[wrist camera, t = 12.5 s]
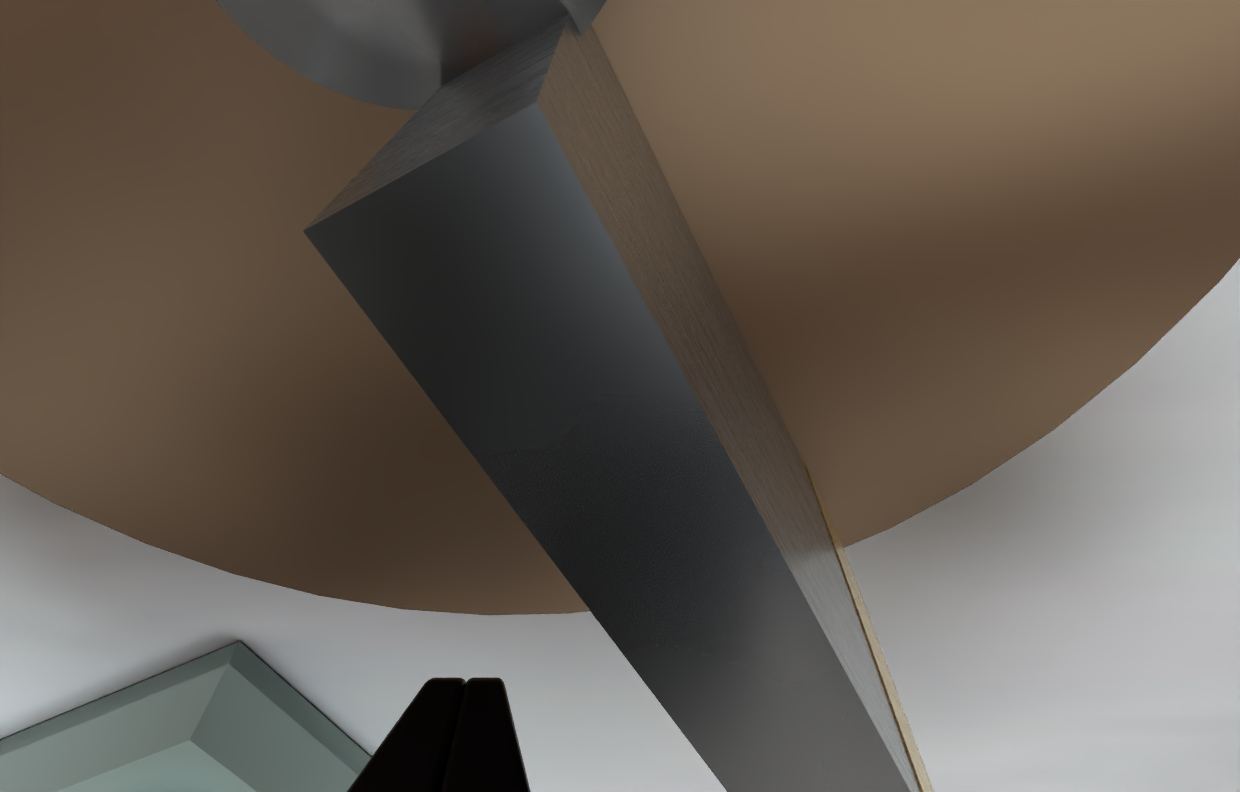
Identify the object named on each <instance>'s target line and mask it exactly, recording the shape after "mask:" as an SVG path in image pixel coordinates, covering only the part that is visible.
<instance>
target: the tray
mask: <svg viewBox="0 0 1240 792" xmlns="http://www.w3.org/2000/svg"><path fill="white" fill-rule="evenodd" d="M370 759H371V757H370V756H369V755H367V754H366V753H365V752H364V751H363V750H362V749H361V748H360V747H358V746H357V745H356V744H355V743H354V742H353V741H352V740H350V739H349V738H348V737H347V736H346V735H345V734H344V733H343V732H341V731H340V730H339V729H338V728H337V727H336V726H335V725H334V724H332V723H331V722H330V721H329V720H328V719H327V718H326V717H325V716H323V715H322V714H321V713H320V712H319V711H318V710H317V709H315V708H314V707H313V706H312V705H311V704H310V703H309V702H308V701H306V700H305V699H304V698H303V697H302V696H301V695H300V694H299V693H297V692H296V691H295V690H294V689H293V688H292V687H291V686H290V685H288V684H287V683H286V682H285V681H284V680H283V679H282V678H280V677H279V676H278V675H277V674H276V673H275V672H274V671H273V670H271V669H270V668H269V667H268V666H267V665H266V664H265V663H264V662H262V661H261V660H260V659H259V658H258V657H257V656H256V655H255V654H253V653H252V652H251V651H250V650H249V649H248V648H247V647H245V646H244V645H243V644H242V643H241V642H240V641H239V642H236V643H234V644H232V645H229V646H227V647H224V648H222V649H220V650H217V651H215V652H212V653H210V654H207V655H205V656H203V657H200V658H198V659H195V660H193V661H191V662H188V663H186V664H183V665H181V666H178V667H176V668H174V669H171V670H169V671H166V672H164V673H162V674H159V675H157V676H154V677H152V678H149V679H147V680H145V681H142V682H140V683H137V684H135V685H133V686H130V687H128V688H125V689H123V690H120V691H118V692H116V693H113V694H111V695H108V696H106V697H103V698H101V699H99V700H96V701H94V702H91V703H89V704H87V705H84V706H82V707H79V708H77V709H74V710H72V711H70V712H67V713H65V714H62V715H60V716H58V717H55V718H53V719H50V720H48V721H45V722H43V723H41V724H38V725H36V726H33V727H31V728H29V729H26V730H24V731H21V732H19V733H16V734H14V735H12V736H9V737H7V738H4V739H2V740H0V792H347V790H348V789H349V788H350V786H351V785H352V784H353V782H354V781H355V779H356V778H357V777H358V775H359V774H360V773H361V771H362V770H363V768H364V767H365V766H366V764H367V763H368V761H369V760H370Z"/></svg>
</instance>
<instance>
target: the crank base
mask: <svg viewBox="0 0 1240 792" xmlns="http://www.w3.org/2000/svg"><path fill="white" fill-rule="evenodd" d="M592 26H593V28H594V30H595V33H596V35H597V37H598V39H599V41H600V43H601V45H602V47H603V49H604V51H605V53H606V55H607V57H608V59H609V62H610V64H611V66H612V68H613V70H614V72H615V74H616V76H617V78H618V80H619V82H620V84H621V86H622V88H623V91H624V93H625V95H626V97H627V99H628V101H629V103H630V105H631V107H632V109H633V111H634V113H635V115H636V117H637V120H638V122H639V124H640V126H641V128H642V130H643V132H644V134H645V136H646V138H647V140H648V142H649V144H650V146H651V148H652V151H653V153H654V155H655V157H656V159H657V161H658V163H659V165H660V167H661V169H662V171H663V173H664V175H665V177H666V180H667V182H668V184H669V186H670V188H671V190H672V192H673V194H674V196H675V198H676V200H677V202H678V204H679V206H680V209H681V211H682V213H683V215H684V217H685V219H686V221H687V223H688V225H689V227H690V229H691V231H692V233H693V235H694V238H695V240H696V242H697V244H698V246H699V248H700V250H701V252H702V254H703V256H704V258H705V260H706V262H707V264H708V267H709V269H710V271H711V273H712V275H713V277H714V279H715V281H716V283H717V285H718V287H719V289H720V291H721V293H722V296H723V298H724V300H725V302H726V304H727V306H728V308H729V310H730V312H731V314H732V316H733V318H734V320H735V322H736V325H737V327H738V329H739V331H740V333H741V335H742V337H743V339H744V341H745V343H746V345H747V347H748V349H749V351H750V354H751V356H752V358H753V360H754V362H755V364H756V366H757V368H758V370H759V372H760V374H761V376H762V378H763V380H764V383H765V385H766V387H767V389H768V391H769V393H770V395H771V397H772V399H773V401H774V403H775V405H776V407H777V409H778V411H779V414H780V416H781V418H782V420H783V422H784V424H785V426H786V428H787V430H788V432H789V434H790V436H791V438H792V440H793V443H794V445H795V447H796V449H797V451H798V453H799V455H800V457H801V459H802V461H803V463H804V464H806V466H807V468H808V470H809V472H810V474H811V476H812V478H813V480H814V482H815V484H816V487H817V489H818V491H819V493H820V495H821V497H822V499H823V501H824V503H825V505H826V507H827V509H828V511H829V514H830V516H831V518H832V520H833V522H834V524H835V527H836V529H837V532H838V535H839V537H840V540H841V543H842V545H843V548H844V547H846V546H849V545H851V544H854V543H856V542H858V541H861V540H863V539H866V538H868V537H870V536H873V535H875V534H877V533H880V532H882V531H885V530H887V529H889V528H891V527H893V526H895V525H897V524H899V523H901V522H903V521H904V520H906V519H908V518H910V517H912V516H914V515H916V514H917V513H919V512H921V511H923V510H925V509H927V508H929V507H930V506H932V505H934V504H936V503H938V502H940V501H942V500H944V499H945V498H947V497H949V496H951V495H953V494H955V493H957V492H958V491H960V490H962V489H964V488H966V487H968V486H970V485H971V484H973V483H974V482H976V481H977V480H979V479H980V478H982V477H983V476H985V475H986V474H988V473H989V472H991V471H992V470H994V469H995V468H997V467H998V466H1000V465H1001V464H1003V463H1005V462H1006V461H1008V460H1009V459H1011V458H1012V457H1014V456H1015V455H1017V454H1018V453H1020V452H1021V451H1023V450H1024V449H1026V448H1027V447H1029V446H1030V445H1032V444H1033V443H1035V442H1036V441H1038V440H1039V439H1041V438H1042V437H1044V436H1045V435H1047V434H1048V433H1050V432H1051V431H1053V430H1054V429H1055V428H1056V427H1058V426H1059V425H1060V424H1061V423H1063V422H1064V421H1065V420H1066V419H1068V418H1069V417H1070V416H1071V415H1072V414H1074V413H1075V412H1076V411H1077V410H1079V409H1080V408H1081V407H1082V406H1084V405H1085V404H1086V403H1087V402H1089V401H1090V400H1091V399H1092V398H1093V397H1095V396H1096V395H1097V394H1098V393H1100V392H1101V391H1102V390H1103V389H1105V388H1106V387H1107V386H1108V385H1110V384H1111V383H1112V382H1113V381H1114V380H1116V379H1117V378H1118V377H1119V376H1121V375H1122V374H1123V373H1124V372H1126V371H1127V370H1128V369H1129V368H1131V367H1132V366H1133V365H1134V364H1135V363H1137V362H1138V361H1139V360H1140V359H1141V358H1142V357H1143V356H1144V355H1145V354H1146V353H1147V352H1148V351H1149V350H1150V349H1151V348H1152V347H1153V346H1154V345H1155V344H1156V343H1157V342H1158V341H1159V340H1160V339H1161V338H1162V337H1163V336H1164V335H1165V334H1166V333H1167V332H1168V331H1169V330H1170V329H1171V328H1172V327H1173V326H1174V325H1176V324H1177V323H1178V322H1179V321H1180V320H1181V319H1182V318H1183V317H1184V316H1185V315H1186V314H1187V313H1188V312H1189V311H1190V310H1191V309H1192V308H1193V307H1194V306H1195V305H1196V304H1197V303H1198V302H1199V301H1200V300H1201V299H1202V298H1203V297H1204V296H1205V295H1206V294H1207V293H1208V292H1209V291H1210V290H1211V289H1212V288H1213V287H1214V286H1216V285H1217V284H1218V283H1219V281H1220V280H1221V279H1222V278H1223V277H1224V276H1225V274H1226V273H1227V272H1228V271H1229V270H1230V269H1231V267H1232V266H1233V265H1234V264H1235V263H1236V262H1237V260H1238V259H1239V258H1240V0H607V1H606V3H605V4H604V6H603V7H602V9H601V10H600V12H599V13H598V15H597V16H596V18H595V19H594V21H593V22H592ZM416 112H417V111H413V110H405V109H396V108H388V107H382V106H378V105H374V104H370V103H366V102H362V101H358V100H355V99H353V98H350V97H347V96H345V95H342V94H340V93H337V92H334V91H332V90H329V89H327V88H325V87H323V86H321V85H319V84H317V83H315V82H314V81H312V80H310V79H308V78H306V77H304V76H302V75H300V74H299V73H297V72H296V71H294V70H293V69H291V68H290V67H288V66H287V65H285V64H284V63H282V62H281V61H279V60H278V59H276V58H275V57H274V56H272V55H271V54H270V53H268V52H267V51H266V50H265V49H264V48H263V47H261V46H260V45H259V44H258V43H257V42H255V41H254V40H253V39H252V38H251V37H250V36H248V35H247V34H246V33H245V32H244V31H243V30H242V29H241V28H240V27H239V26H238V25H237V24H236V23H235V22H234V21H233V20H232V19H231V17H230V16H229V15H228V14H227V13H226V12H225V11H224V10H223V9H222V8H221V7H220V6H219V5H218V3H217V2H216V1H215V0H0V474H2V475H4V476H5V477H7V478H9V479H11V480H13V481H15V482H16V483H18V484H20V485H22V486H24V487H26V488H27V489H29V490H31V491H33V492H35V493H37V494H38V495H40V496H42V497H44V498H46V499H48V500H50V501H51V502H53V503H55V504H58V505H60V506H62V507H64V508H67V509H69V510H71V511H73V512H76V513H78V514H80V515H82V516H85V517H87V518H89V519H91V520H94V521H96V522H98V523H100V524H103V525H105V526H107V527H110V528H112V529H114V530H116V531H119V532H121V533H123V534H125V535H128V536H130V537H132V538H134V539H137V540H139V541H141V542H143V543H146V544H149V545H152V546H155V547H157V548H160V549H163V550H166V551H169V552H172V553H175V554H178V555H181V556H183V557H186V558H189V559H192V560H195V561H198V562H201V563H204V564H206V565H209V566H212V567H215V568H218V569H221V570H224V571H227V572H230V573H232V574H236V575H240V576H244V577H248V578H252V579H256V580H260V581H264V582H268V583H272V584H276V585H280V586H283V587H287V588H291V589H295V590H299V591H303V592H307V593H311V594H315V595H319V596H325V597H331V598H337V599H344V600H350V601H356V602H362V603H368V604H375V605H381V606H387V607H393V608H399V609H408V610H422V611H436V612H450V613H464V614H478V615H512V614H561V613H575V612H584V611H590V610H589V608H588V607H587V606H586V604H585V603H584V602H583V600H582V599H581V598H580V596H579V595H578V594H577V592H576V591H575V590H574V588H573V587H572V586H571V585H570V583H569V582H568V581H567V579H566V578H565V577H564V575H563V574H562V573H561V571H560V570H559V569H558V567H557V566H556V565H555V563H554V562H553V561H552V559H551V558H550V557H549V555H548V554H547V553H546V552H545V550H544V549H543V548H542V546H541V545H540V544H539V542H538V541H537V540H536V538H535V537H534V536H533V534H532V533H531V532H530V530H529V529H528V528H527V526H526V525H525V524H524V522H523V521H522V520H521V518H520V517H519V516H518V515H517V513H516V512H515V511H514V509H513V508H512V507H511V505H510V504H509V503H508V501H507V500H506V499H505V497H504V496H503V495H502V493H501V492H500V491H499V489H498V488H497V487H496V485H495V484H494V483H493V482H492V480H491V479H490V478H489V476H488V475H487V474H486V472H485V471H484V470H483V468H482V467H481V466H480V464H479V463H478V462H477V460H476V459H475V458H474V456H473V455H472V454H471V452H470V451H469V450H468V449H467V447H466V446H465V445H464V443H463V442H462V441H461V439H460V438H459V437H458V435H457V434H456V433H455V431H454V430H453V429H452V427H451V426H450V425H449V423H448V422H447V421H446V419H445V418H444V417H443V416H442V414H441V413H440V412H439V410H438V409H437V408H436V406H435V405H434V404H433V402H432V401H431V400H430V398H429V397H428V396H427V394H426V393H425V392H424V390H423V389H422V388H421V386H420V385H419V384H418V382H417V381H416V380H415V379H414V377H413V376H412V375H411V373H410V372H409V371H408V369H407V368H406V367H405V365H404V364H403V363H402V361H401V360H400V359H399V357H398V356H397V355H396V353H395V352H394V351H393V349H392V348H391V347H390V346H389V344H388V343H387V342H386V340H385V339H384V338H383V336H382V335H381V334H380V332H379V331H378V330H377V328H376V327H375V326H374V324H373V323H372V322H371V320H370V319H369V318H368V316H367V315H366V314H365V313H364V311H363V310H362V309H361V307H360V306H359V305H358V303H357V302H356V301H355V299H354V298H353V297H352V295H351V294H350V293H349V291H348V290H347V289H346V287H345V286H344V285H343V283H342V282H341V281H340V279H339V278H338V277H337V276H336V274H335V273H334V272H333V270H332V269H331V268H330V266H329V265H328V264H327V262H326V261H325V260H324V258H323V257H322V256H321V254H320V253H319V252H318V250H317V249H316V248H315V246H314V245H313V244H312V243H311V241H310V240H309V239H308V237H307V236H306V235H305V233H304V232H303V230H304V229H305V228H306V227H307V226H308V225H309V224H310V223H311V222H312V221H313V220H314V219H315V218H316V217H317V216H318V215H319V214H320V213H321V211H322V210H323V209H324V208H325V207H326V206H327V205H328V204H329V203H330V202H331V201H332V200H333V199H334V198H335V197H336V196H337V195H338V194H339V193H340V192H341V191H342V189H343V188H344V187H345V186H346V185H347V184H348V183H349V182H350V181H351V180H352V179H353V178H354V177H355V176H356V175H357V174H358V173H359V172H360V171H361V170H362V168H363V167H364V166H365V165H366V164H367V163H368V162H369V161H370V160H371V159H372V158H373V157H374V156H375V155H376V154H377V153H378V152H379V151H380V150H381V149H382V147H383V146H384V145H385V144H386V143H387V142H388V141H389V140H390V139H391V138H392V137H393V136H394V135H395V134H396V133H397V132H398V131H399V130H400V129H401V128H402V126H403V125H404V124H405V123H406V122H407V121H408V120H409V119H410V118H411V117H412V116H413V115H414V114H415V113H416Z"/></svg>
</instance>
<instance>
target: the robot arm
mask: <svg viewBox="0 0 1240 792" xmlns="http://www.w3.org/2000/svg"><path fill="white" fill-rule="evenodd" d="M347 792H530V787H529V783H528V779H527V775H526V771H525V767H524V763H523V759H522V755H521V750H520V746H519V742H518V738H517V734H516V730H515V726H514V722H513V717H512V713H511V709H510V705H509V701H508V697H507V693H506V689H505V685H504V682H503V681H502V679H500V678H471V679H469V680H468V681H467V682H465V680H464V679H462V678H432V679H430V680H428V681H427V682H426V683H425V684H424V686H423V687H422V688H421V690H420V691H419V692H418V694H417V695H416V696H415V698H414V699H413V701H412V702H411V703H410V705H409V706H408V708H407V709H406V710H405V712H404V713H403V714H402V716H401V717H400V719H399V720H398V721H397V723H396V724H395V726H394V727H393V728H392V730H391V731H390V732H389V734H388V735H387V737H386V738H385V739H384V741H383V742H382V743H381V745H380V746H379V748H378V749H377V750H376V752H375V753H374V755H373V756H372V757H371V759H370V760H369V761H368V763H367V764H366V766H365V767H364V768H363V770H362V771H361V773H360V774H359V775H358V777H357V778H356V779H355V781H354V782H353V784H352V785H351V786H350V788H349V789H348V790H347Z"/></svg>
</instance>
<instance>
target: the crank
mask: <svg viewBox="0 0 1240 792" xmlns="http://www.w3.org/2000/svg"><path fill="white" fill-rule="evenodd" d="M215 1H216V2H217V3H218V5H219V6H220V7H221V8H222V9H223V10H224V11H225V12H226V13H227V14H228V15H229V16H230V17H231V19H232V20H233V21H234V22H235V23H236V24H237V25H238V26H239V27H240V28H241V29H242V30H243V31H244V32H245V33H246V34H247V35H248V36H250V37H251V38H252V39H253V40H254V41H255V42H257V43H258V44H259V45H260V46H261V47H263V48H264V49H265V50H266V51H267V52H268V53H270V54H271V55H272V56H274V57H275V58H276V59H278V60H279V61H281V62H282V63H284V64H285V65H287V66H288V67H290V68H291V69H293V70H294V71H296V72H297V73H299V74H300V75H302V76H304V77H306V78H308V79H310V80H312V81H314V82H315V83H317V84H319V85H321V86H323V87H325V88H327V89H329V90H332V91H334V92H337V93H340V94H342V95H345V96H347V97H350V98H353V99H355V100H358V101H362V102H366V103H370V104H374V105H378V106H382V107H388V108H396V109H405V110H413V111H417V112H416V113H415V114H414V115H413V116H412V117H411V118H410V119H409V120H408V121H407V122H406V123H405V124H404V125H403V126H402V128H401V129H400V130H399V131H398V132H397V133H396V134H395V135H394V136H393V137H392V138H391V139H390V140H389V141H388V142H387V143H386V144H385V145H384V146H383V147H382V149H381V150H380V151H379V152H378V153H377V154H376V155H375V156H374V157H373V158H372V159H371V160H370V161H369V162H368V163H367V164H366V165H365V166H364V167H363V168H362V170H361V171H360V172H359V173H358V174H357V175H356V176H355V177H354V178H353V179H352V180H351V181H350V182H349V183H348V184H347V185H346V186H345V187H344V188H343V189H342V191H341V192H340V193H339V194H338V195H337V196H336V197H335V198H334V199H333V200H332V201H331V202H330V203H329V204H328V205H327V206H326V207H325V208H324V209H323V210H322V211H321V213H320V214H319V215H318V216H317V217H316V218H315V219H314V220H313V221H312V222H311V223H310V224H309V225H308V226H307V227H306V228H305V229H304V230H303V232H304V233H305V235H306V236H307V237H308V239H309V240H310V241H311V243H312V244H313V245H314V246H315V248H316V249H317V250H318V252H319V253H320V254H321V256H322V257H323V258H324V260H325V261H326V262H327V264H328V265H329V266H330V268H331V269H332V270H333V272H334V273H335V274H336V276H337V277H338V278H339V279H340V281H341V282H342V283H343V285H344V286H345V287H346V289H347V290H348V291H349V293H350V294H351V295H352V297H353V298H354V299H355V301H356V302H357V303H358V305H359V306H360V307H361V309H362V310H363V311H364V313H365V314H366V315H367V316H368V318H369V319H370V320H371V322H372V323H373V324H374V326H375V327H376V328H377V330H378V331H379V332H380V334H381V335H382V336H383V338H384V339H385V340H386V342H387V343H388V344H389V346H390V347H391V348H392V349H393V351H394V352H395V353H396V355H397V356H398V357H399V359H400V360H401V361H402V363H403V364H404V365H405V367H406V368H407V369H408V371H409V372H410V373H411V375H412V376H413V377H414V379H415V380H416V381H417V382H418V384H419V385H420V386H421V388H422V389H423V390H424V392H425V393H426V394H427V396H428V397H429V398H430V400H431V401H432V402H433V404H434V405H435V406H436V408H437V409H438V410H439V412H440V413H441V414H442V416H443V417H444V418H445V419H446V421H447V422H448V423H449V425H450V426H451V427H452V429H453V430H454V431H455V433H456V434H457V435H458V437H459V438H460V439H461V441H462V442H463V443H464V445H465V446H466V447H467V449H468V450H469V451H470V452H471V454H472V455H473V456H474V458H475V459H476V460H477V462H478V463H479V464H480V466H481V467H482V468H483V470H484V471H485V472H486V474H487V475H488V476H489V478H490V479H491V480H492V482H493V483H494V484H495V485H496V487H497V488H498V489H499V491H500V492H501V493H502V495H503V496H504V497H505V499H506V500H507V501H508V503H509V504H510V505H511V507H512V508H513V509H514V511H515V512H516V513H517V515H518V516H519V517H520V518H521V520H522V521H523V522H524V524H525V525H526V526H527V528H528V529H529V530H530V532H531V533H532V534H533V536H534V537H535V538H536V540H537V541H538V542H539V544H540V545H541V546H542V548H543V549H544V550H545V552H546V553H547V554H548V555H549V557H550V558H551V559H552V561H553V562H554V563H555V565H556V566H557V567H558V569H559V570H560V571H561V573H562V574H563V575H564V577H565V578H566V579H567V581H568V582H569V583H570V585H571V586H572V587H573V588H574V590H575V591H576V592H577V594H578V595H579V596H580V598H581V599H582V600H583V602H584V603H585V604H586V606H587V607H588V608H589V610H590V611H591V612H592V614H593V615H594V616H595V618H596V619H597V620H598V621H599V623H600V624H601V625H602V627H603V628H604V629H605V631H606V632H607V633H608V635H609V636H610V637H611V639H612V640H613V641H614V643H615V644H616V645H617V647H618V648H619V649H620V651H621V652H622V653H623V654H624V656H625V657H626V658H627V660H628V661H629V662H630V664H631V665H632V666H633V668H634V669H635V670H636V672H637V673H638V674H639V676H640V677H641V678H642V680H643V681H644V682H645V684H646V685H647V686H648V688H649V689H650V690H651V691H652V693H653V694H654V695H655V697H656V698H657V699H658V701H659V702H660V703H661V705H662V706H663V707H664V709H665V710H666V711H667V713H668V714H669V715H670V717H671V718H672V719H673V721H674V722H675V723H676V724H677V726H678V727H679V728H680V730H681V731H682V732H683V734H684V735H685V736H686V738H687V739H688V740H689V742H690V743H691V744H692V746H693V747H694V748H695V750H696V751H697V752H698V754H699V755H700V756H701V757H702V759H703V760H704V761H705V763H706V764H707V765H708V767H709V768H710V769H711V771H712V772H713V773H714V775H715V776H716V777H717V779H718V780H719V781H720V783H721V784H722V785H723V787H724V788H725V789H726V791H727V792H934V791H933V788H932V785H931V783H930V780H929V777H928V775H927V772H926V769H925V767H924V764H923V761H922V758H921V756H920V753H919V750H918V748H917V745H916V742H915V740H914V737H913V734H912V731H911V729H910V726H909V723H908V721H907V718H906V715H905V713H904V710H903V707H902V704H901V702H900V699H899V696H898V694H897V691H896V688H895V686H894V683H893V680H892V678H891V675H890V672H889V669H888V667H887V664H886V661H885V659H884V656H883V653H882V651H881V648H880V645H879V642H878V640H877V637H876V634H875V632H874V629H873V626H872V624H871V621H870V618H869V615H868V613H867V610H866V607H865V605H864V602H863V599H862V597H861V594H860V591H859V589H858V586H857V583H856V580H855V578H854V575H853V572H852V570H851V567H850V564H849V562H848V559H847V556H846V553H845V551H844V548H843V545H842V543H841V540H840V537H839V535H838V532H837V529H836V527H835V524H834V522H833V520H832V518H831V516H830V514H829V511H828V509H827V507H826V505H825V503H824V501H823V499H822V497H821V495H820V493H819V491H818V489H817V487H816V484H815V482H814V480H813V478H812V476H811V474H810V472H809V470H808V468H807V466H806V464H804V463H803V461H802V459H801V457H800V455H799V453H798V451H797V449H796V447H795V445H794V443H793V440H792V438H791V436H790V434H789V432H788V430H787V428H786V426H785V424H784V422H783V420H782V418H781V416H780V414H779V411H778V409H777V407H776V405H775V403H774V401H773V399H772V397H771V395H770V393H769V391H768V389H767V387H766V385H765V383H764V380H763V378H762V376H761V374H760V372H759V370H758V368H757V366H756V364H755V362H754V360H753V358H752V356H751V354H750V351H749V349H748V347H747V345H746V343H745V341H744V339H743V337H742V335H741V333H740V331H739V329H738V327H737V325H736V322H735V320H734V318H733V316H732V314H731V312H730V310H729V308H728V306H727V304H726V302H725V300H724V298H723V296H722V293H721V291H720V289H719V287H718V285H717V283H716V281H715V279H714V277H713V275H712V273H711V271H710V269H709V267H708V264H707V262H706V260H705V258H704V256H703V254H702V252H701V250H700V248H699V246H698V244H697V242H696V240H695V238H694V235H693V233H692V231H691V229H690V227H689V225H688V223H687V221H686V219H685V217H684V215H683V213H682V211H681V209H680V206H679V204H678V202H677V200H676V198H675V196H674V194H673V192H672V190H671V188H670V186H669V184H668V182H667V180H666V177H665V175H664V173H663V171H662V169H661V167H660V165H659V163H658V161H657V159H656V157H655V155H654V153H653V151H652V148H651V146H650V144H649V142H648V140H647V138H646V136H645V134H644V132H643V130H642V128H641V126H640V124H639V122H638V120H637V117H636V115H635V113H634V111H633V109H632V107H631V105H630V103H629V101H628V99H627V97H626V95H625V93H624V91H623V88H622V86H621V84H620V82H619V80H618V78H617V76H616V74H615V72H614V70H613V68H612V66H611V64H610V62H609V59H608V57H607V55H606V53H605V51H604V49H603V47H602V45H601V43H600V41H599V39H598V37H597V35H596V33H595V30H594V28H593V26H592V22H593V21H594V19H595V18H596V16H597V15H598V13H599V12H600V10H601V9H602V7H603V6H604V4H605V3H606V1H607V0H215Z"/></svg>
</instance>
